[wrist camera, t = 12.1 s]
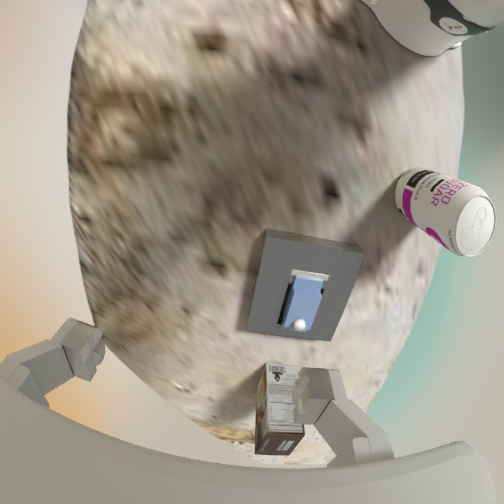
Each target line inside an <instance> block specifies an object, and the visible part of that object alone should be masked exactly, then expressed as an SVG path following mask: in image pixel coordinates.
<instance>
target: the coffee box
mask: <svg viewBox="0 0 504 504" xmlns="http://www.w3.org/2000/svg"><path fill="white" fill-rule="evenodd" d="M297 379H298V373H297V366H293V365H283V364H274V363H266V364H265V366H264V369H263V372H262V375H261V378H260V380H259V383H258V386H257V389H256V428H255V454H260V455H290V453H291V452H292V451H293V450H294V448H295V447H296V446H297V445H298V443H299V442H300V441H301V439H302V438H303V437H304V435H305V431H304V424H294V416H293V410H294V408H295V406H296V405H295V404H294V403H293V402H292V390H293V385H294V383H295V381H296V380H297Z"/></svg>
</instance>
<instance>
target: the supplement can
mask: <svg viewBox="0 0 504 504" xmlns="http://www.w3.org/2000/svg"><path fill="white" fill-rule="evenodd" d="M395 203H396V206H397V209H398V211H399V212H400V214H401V215H402V216H403V217H404V218H405V219H407V220H408V221H410V222H411V223H413V224H414V225H416V226H417V227H418V228H420V229H421V230H423V231H424V232H425V233H427V234H428V235H430V236H431V237H432V238H434V239H435V240H436V241H438V242H439V243H440V244H442V245H443V246H444V247H446V248H447V249H448V250H450V251H451V252H452V253H454V254H456V255H457V256H472V257H474V256H476V255H478V254H480V253H481V252H482V251H483V250H484V249H485V248H486V247H487V246H488V244H489V243H490V241H491V239H492V237H493V234H494V231H495V227H496V210H495V207H494V205H493V203H492V201H491V200H490V199H489V197H488V196H487V194H486V193H485V192H484V191H483V190H482V189H481V188H479V187H477V186H474V185H472V184H469V183H466V182H463V181H460V180H458V179H455V178H452V177H449V176H446V175H443V174H440V173H437V172H433V171H430V170H427V169H423V168H413V169H409V170H408V171H407V172H405V173H404V174H403V175H402V176H401V178H400V179H399V181H398V183H397V186H396V190H395Z"/></svg>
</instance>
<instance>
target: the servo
mask: <svg viewBox="0 0 504 504" xmlns="http://www.w3.org/2000/svg"><path fill="white" fill-rule="evenodd" d="M322 285H323V280H320V279H313V278H307V277H301V276H295V279H294V283H293V284H290V283H289V285H288V289H287V293H286V296H285V300H284V303H283V307H282V313H283V321H282V324H281V329H285V330H293V331H301V332H306V330H310V329H311V326H312V323H313V321H314V318H315V315H316V313H317V310H318V307H319V304H320V301H321V299H322V295H321V292H320V291H321V288H322Z"/></svg>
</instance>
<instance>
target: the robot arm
mask: <svg viewBox="0 0 504 504" xmlns="http://www.w3.org/2000/svg"><path fill="white" fill-rule="evenodd" d="M362 1H363V2H364V3H365V4H366V5H367V6H369V7H370V8H371V9H372V10H373V12H374V13H375V15H376V17H377V18H378V20H379V22H380V23H381V24H382V26H383V27H384V28H385V30H386V31H387V32H388V33H389V34H390V35H391V36H392V37H393V38H394V39H395V40H396V41H398V42H399V43H400V44H402V45H403V46H405V47H406V48H408V49H409V50H411V51H413V52H415V53H418V54H421V55H425V56H437V55H440V54H442V53H443V52H444V51H445V50H447V49H448V48H456V47H458V46H460V45H461V42H462V41H464V40H466V39H467V38H469V37H472V36H473V35H477V34H480V33H485V32H488V31H489V30H492V29H493V28H494V27H495V25H498V24H502V23H504V0H362ZM101 337H102V331H101V329H100V328H98V327H95V326H92V325H89V324H87V323H84V322H81V321H78V320H75V319H73V318H70V319H68V320H67V321H66V322H65V323H64V324H63V325H62V327H61V328H60V329H59V330H58V331H57V333H56V334H55V335H54V336H53V338H52V339H51V340H49V339H47V340H45V341H42V342H40V343H37V344H35V345H32V346H30V347H27V348H24V349H22V350H19V351H17V352H14V353H12V354H9V355H7V357H6V358H5V359H4V360H3V361H2V363H1V364H0V504H497V501H496V496H495V491H494V487H493V483H492V479H491V476H490V473H489V469H488V466H487V464H486V461H485V459H484V457H483V456H482V455H481V454H480V453H479V452H478V451H477V450H475V449H474V448H473V447H471V446H470V445H469V444H467V443H465V442H463V441H455V442H452V443H449V444H446V445H443V446H440V447H437V448H434V449H430V450H427V451H423V452H420V453H415V454H412V455H407V456H403V457H399V458H394V455H393V451H392V447H391V444H390V441H389V437H388V434H387V433H386V432H385V431H384V430H383V429H382V428H381V427H380V426H378V425H377V424H376V423H375V422H374V421H373V420H372V419H370V417H369V416H368V415H366V414H365V413H364V412H363V411H362V410H361V409H360V408H359V407H358V406H357V405H356V404H355V403H354V402H352V401H351V400H347V396H346V392H345V388H344V385H343V381H342V378H341V374H340V371H339V370H338V369H322V368H306V367H302V368H301V370H300V372H299V379H297V380H296V381H295V383H294V385H293V390H292V402H293V403H294V404H295V405H296V406H295V408H294V410H293V416H294V424H312V425H314V426H315V427H316V429H317V430H318V431H319V433H320V434H321V435H322V437H323V438H324V439H325V441H326V442H327V443H328V445H329V446H330V447H331V448H332V450H333V451H334V452H335V454H336V455H337V456H336V457H335V458H334V459H333V460H332V461H331V462H330V463H328V465H327V468H308V469H307V468H306V469H281V468H259V467H245V466H236V465H227V464H220V463H212V462H206V461H201V460H195V459H190V458H185V457H180V456H176V455H171V454H167V453H163V452H159V451H156V450H152V449H148V448H145V447H141V446H138V445H135V444H132V443H128V442H126V441H122V440H120V439H117V438H114V437H111V436H109V435H106V434H104V433H101V432H99V431H96V430H94V429H91V428H89V427H86V426H84V425H82V424H80V423H77V422H75V421H73V420H71V419H69V418H67V417H65V416H63V415H60V414H59V413H56V412H55V411H53V410H51V409H49V403H48V401H47V400H46V398H45V397H44V395H45V394H47V393H49V392H50V391H52V390H53V389H55V388H57V387H58V386H60V385H61V384H63V383H65V382H66V381H68V380H69V379H71V378H73V377H74V376H76V377H79V378H81V379H84V380H87V381H91V380H92V378H93V376H94V374H95V373H96V366H97V365H98V364H100V363H101V362H102V360H103V358H104V354H105V344H104V342H103V341H102V340H101Z"/></svg>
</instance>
